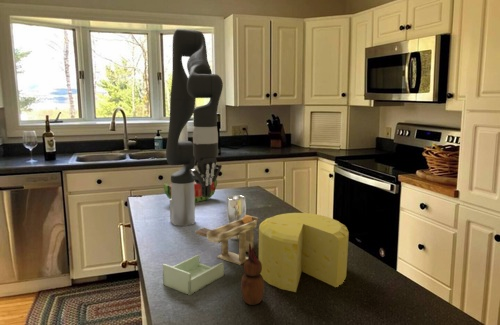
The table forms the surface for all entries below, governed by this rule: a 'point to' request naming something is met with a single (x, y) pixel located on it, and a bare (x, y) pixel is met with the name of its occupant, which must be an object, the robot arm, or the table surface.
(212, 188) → the fruit slice
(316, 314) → the table surface
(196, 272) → the tray
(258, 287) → the wooden figurine
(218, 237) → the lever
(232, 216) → the beer glass
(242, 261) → the fulcrum
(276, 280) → the cheese
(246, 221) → the ball
